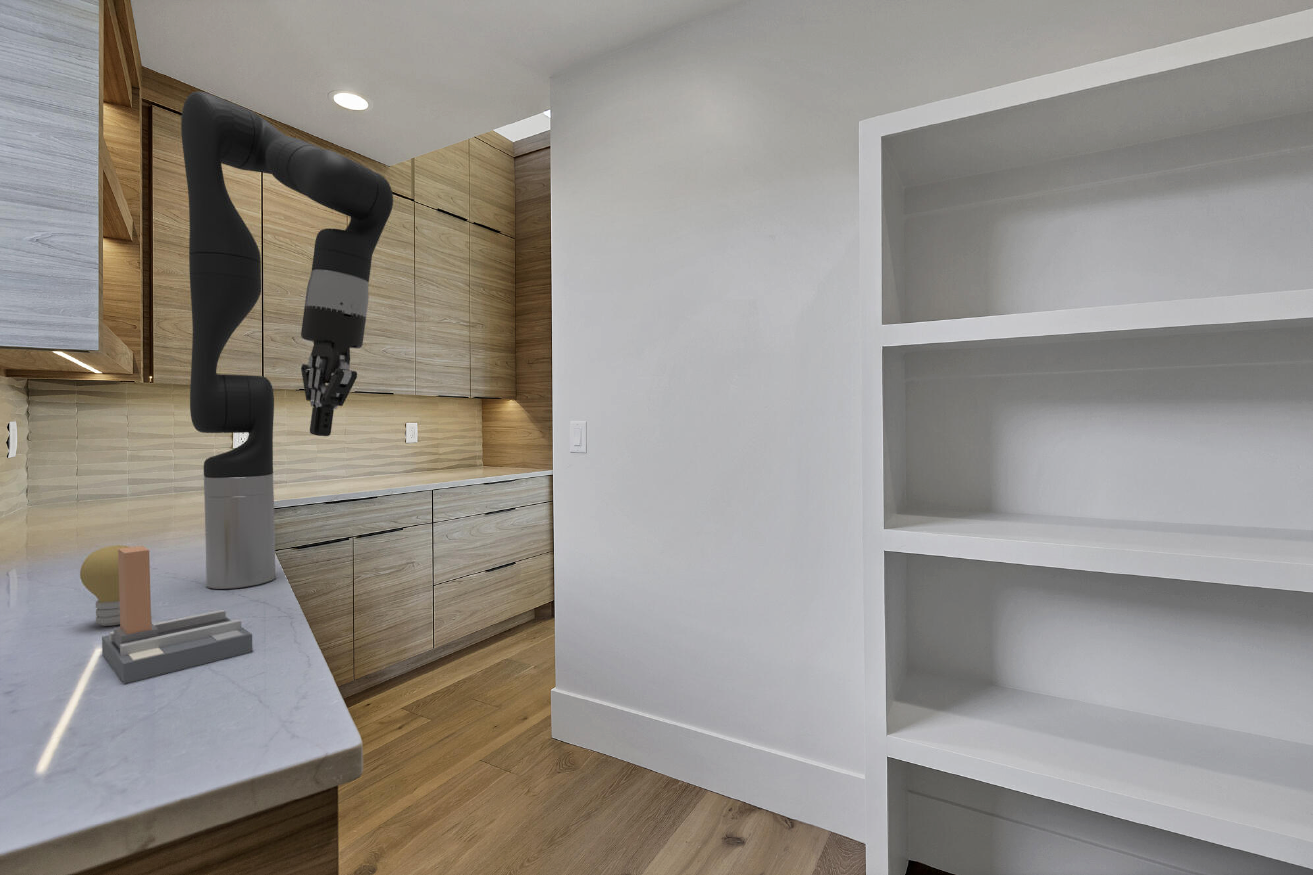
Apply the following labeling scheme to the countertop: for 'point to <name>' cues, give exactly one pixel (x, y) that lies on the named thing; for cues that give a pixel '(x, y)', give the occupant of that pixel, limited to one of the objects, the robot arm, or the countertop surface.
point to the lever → (134, 596)
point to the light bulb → (104, 583)
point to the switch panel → (178, 646)
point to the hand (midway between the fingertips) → (319, 435)
